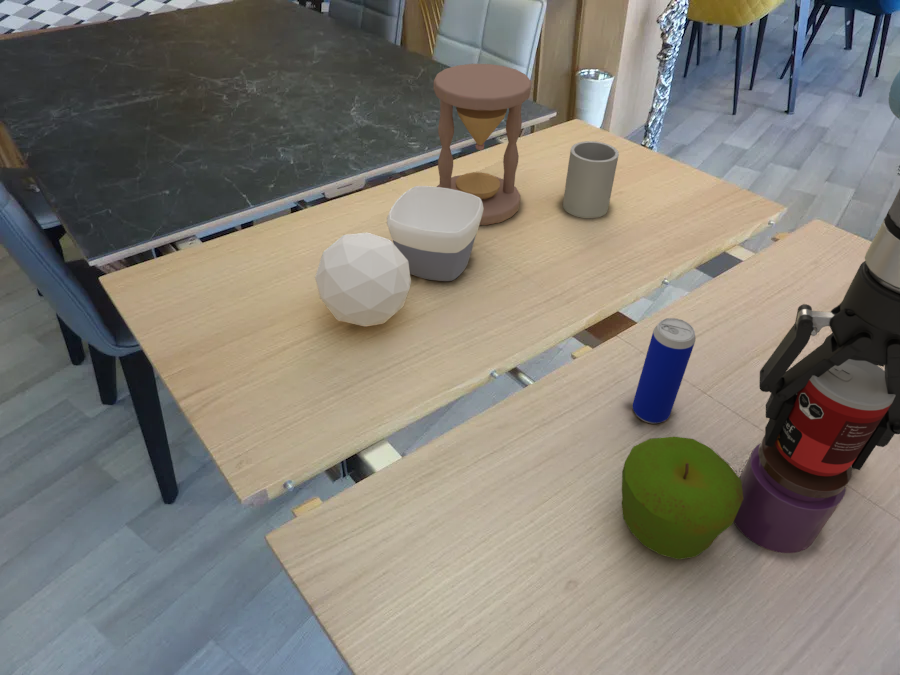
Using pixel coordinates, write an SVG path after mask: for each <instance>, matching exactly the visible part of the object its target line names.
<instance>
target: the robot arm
mask: <svg viewBox="0 0 900 675" xmlns="http://www.w3.org/2000/svg"><path fill="white" fill-rule="evenodd" d="M891 82H892V83H891V85H890V88H889V92H888V96H889V97H888V107H889V109H890V112H891V113H892V114H893V115H894V116H895V117H896V118H897V119H898V120H900V69H899V70H898V72H897V73H896V75H895V77H894V78H893V80H892V81H891ZM824 327H829V328H830V330H831V332H832V333H830V334H828V336H827V337H826V338H825V339H824V341H823V343H821V345H819V346H817V347H816V348H815V349H814V350H813V351H811V352H810V353H808V354H807V355H805V356H804V357H803V358H801V360H799V361H797V363H796V364H794V365H792V364H793V363H794V362H795V361H796V359H797V358H798V357H799V355H800V354H801V353H802V352H803V350H804V349H805V347H807V345H808V343H809V341H810V339H811V337H816V336H817V335H818V333H820V331H821V330H822V329H823V328H824ZM848 359H851V360H856V361H867V362H869V363H872V364H874V365H877V366H879V367H881V368H882V367H884V371H885V381H886V387H887V392H888V394H895V395H896V396H895V398H894V400H893V403H892V404H891V406H890V407H889V409H888V411H887V412H886V414H885V415H884V417H883V418H882V420H881V421H880V423H879V424H878V426H877V428H876V429H875V431H874V432H873V434H872V435H871V437H870V438H869V440H868V441H867V443H866V444H865V446H864V447H863V449H862V450H861V452H860V453H859V455H858V456H857V458H856V459H855V461H854V462H853V464H852V470H853V469H854V470H856V471H857V470H858V471H861V469H862V467H863V466H864V464H865V463H866V462H867V460H868V459H869V457H870V455H871V454H872V453H873V451H874V450H875V448H876V447H880V448H885V447H886V446H888V445H889V443H890V441H891V440H892V438H893V437H894V436H895V435H900V188H898V191H897V193H896V194H895V197H894V199H893V201H892V203H891V205H890V208H889V209H888V211H887V213H886V215H885V217H884V218H883V221H882V222H881V224H880V226H879V228H878V230H877V232H876V233H875V235H874V238H873V239H872V241H871V242H870V245H869V246H868V249H867V251H866V252H865V256H864V261H863V262H862V263H861V264H860V265H859V267H858V268H857V271H856V273H855V275H854V277H853V278H852V280H851V283H850V285H849V286H848V289H847V291H846V292H845V295H844V296H843V299H842V300H841V302H840V303H839V304H837V305H836V306H835V307H833V308H832V309H831V310H830V311H823V310H822V311H821V310H813V307H812V306H811V305H809V304H801V305H799V306H798V307H797V311H796V316H795V322H794V323H793V325H792V326H791V327H790V329H789V330H788V332H787V333H786V334H785V336H784V337H783V339H782V340H781V341H780V343H779V344H778V345H777V347H776V348H775V350H774V351H773V352H772V353H771V355H770V356H769V358H768V359H767V360H766V362H765V363H764V364H763V366H762V367H761V368H760V370H759V383H758V385H759V386H758V387H759V390H760V391H762V393H770V395H769V397H768V399H767V401H766V403H765V418H766V419H768V421H767V423H766V425H765V427H764V428H765V430H764V436H765V445H766V446H770V447H773V445H774V443H775V441H776V439H777V437H778V435H779V433H780V432H781V430H782V428H783V426H784V424H785V422H786V420H787V418H788V416H789V414H790V412H791V410H792V408H793V406H794V398H793V395H795V394H796V393H797V392H799V391H800V390H802V389H803V388H804V387H806V385H807V383H808V381H809V379H810V378H811V377H812V376H817V377H820V376H821V375H822V374H824V373H825V372H826V371H828V370H829V369H831V368H832V367H833V366H835V365H836V366H840V365H841V364H843V363H844V362H845V361H847V360H848ZM791 365H792V367H791Z"/></svg>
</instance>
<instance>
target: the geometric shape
mask: <svg viewBox="0 0 900 675" xmlns="http://www.w3.org/2000/svg"><path fill="white" fill-rule="evenodd" d="M314 280H315V284H316V288H317V292H318V295H319V299H320V300H321V302H322V303H323V305H325V307H326V308H327V309H328V310H329V312H330V313H331V314H332V316H333V317H334V318H335V319H336V320H337V321H339V322H344V323H348V324H353V325H357V326H361V327H370V326H377V325H383V324H385V323H387V321H389V320H390V319H391V318H392V317H393V316H395V314H397V313H398V312H399V311H400V310H401V309H402V308H404V305H405V303H406V300H407V297H408V294H409V292H410V289H411V284H412V278H411V274H410V271H409V263H408V260H407V259H406V258H405V256H404V255H403V254H402V253H401V252H400V251H399V250H398V248H397V247H396V246H395V245H394V243H393V240H392V239H389V238H387V237H383V236H380V235H377V234H374V233H370V232H358V233H348V234H343V235H342V236H340V237H339V238H338V239H337V240H335V241H334V242H333V243H332V244H331V245H330V246H328V247H327V248H325V249H324V251H322V254H321V256H320V259H319V264H318V266H317V269H316V274H315V276H314Z"/></svg>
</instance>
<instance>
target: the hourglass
mask: <svg viewBox="0 0 900 675" xmlns="http://www.w3.org/2000/svg"><path fill="white" fill-rule="evenodd" d="M531 90H532V81H531V79H530V78H529V76H528V75H527V74H526V73H524V72H522V71H520V70H518V69H516V68H512V67H509V66H505V65H501V64H491V63H467V64H466V63H465V64H458V65H454V66H451V67H447V68H445V69H443V70H441V71H440V72H438V73H436V76H435V77H434V79H433V91H434V94H435V96H436V98H438V99H439V101H440V102H439V121H438V124H437V125H438V127H437V128H438V129H437V133H438V138H439V141H440V145H441V148H440V149H441V150H440V153H439V156H438V159H437V169H438V176H439V184H438V185H437V186H436V187H441V188H448V189H453V190H458V191H462V192H466V193H469V194H472V195H475V196H477V197H479V198H480V199H481V200H482V203H483V208H484V209H483V214H482V217H481V221H480V224H479V226H488V225H494V224H500V223H502V222H504V221H507V220H508V219H511V218H512V217H514V215H515V214H516V213H517V212H518V211H519V210H520V202H521V193H520V192H519V190H518V188H517V187H516V186H515V182H516V172H517V168H518V164H519V157H520V156H519V151H518V145H517V142H518V139H519V137H520V134H521V131H522V125H523V121H522V120H523V119H522V107H523V106H522V105H523V103H525V102H526V101H527V100H529V98H530V95H531ZM454 107H455V109H456V112H457V115H458V117H459V119H460V120H461V122H462V124H463V126H464V127H465V129H466V130H467V131H468V133H469V135H470V137H472V139H473V140H474V142H475V149H476V150H478V151H483V150H484V149H485V142H487V140H488V139H489V137H490V136H491V135H492V134H493V133H494V132H495V130H496V129H497V128H498V126H499V125H500V124H501V123H502V121H503V120H504V119H505V116H506V114H507V117H506V122H505V132H506V137H507V138H506V139H507V145H506V148H505V151H504V154H503V158H502V159H503V160H502V164H503V178H502V177H498V176H495V175H493V174H490V173H488V172H487V173H486V172H481V171H480V172H479V171H478V172H477V171H475V172H467V173H464V174H459V175H454V176H452V175H453V171H454V169H453V168H454V158H453V153H452V151H451V145H452V142H453V139H454V134H455V122H454V116H453V114H454V111H453V109H454ZM507 111H508V112H507Z"/></svg>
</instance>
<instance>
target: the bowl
mask: <svg viewBox="0 0 900 675" xmlns="http://www.w3.org/2000/svg"><path fill="white" fill-rule="evenodd" d="M483 209H484V208H483V203H482V200H481V199H480V198H479V197H477V196H475V195H472V194H469V193H466V192H462V191H458V190H453V189H448V188H441V187H437V186H432V185H431V186H430V185H415V186H413V187H411V188H409V189H407V190H406V191H405V192H404V193H402V194H401V195H400V196H399V197H398V198H397V199H396V200H395V202H393V204H392V206H391V208H390V209H389V211H388V214H387V217H386V226H387V228H388V231H389V234H390V235H389V236H390V238H391V241H392V243H393V244H394V245H395V246H396V247H397V248H398V250H399V251H400V252H401V253H402V254H403V255H404V256H405V258H406V259H407V260H408V263H409V271H410V275H412V276H415V277H417V278H421V279H424V280H428V281H429V280H430V281H439V282H451V281H455V280H456V279H457V278H459V276H461V275H462V273H463V272H464V271H465V270H466V268H467V267H468V264H469V261H470V258H471V255H472V251H473V247H474V245H475V244H474V243H475V241H476V237H477V234H478V230H479V228H480V225H479V224H480V221H481V217H482V214H483Z"/></svg>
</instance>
